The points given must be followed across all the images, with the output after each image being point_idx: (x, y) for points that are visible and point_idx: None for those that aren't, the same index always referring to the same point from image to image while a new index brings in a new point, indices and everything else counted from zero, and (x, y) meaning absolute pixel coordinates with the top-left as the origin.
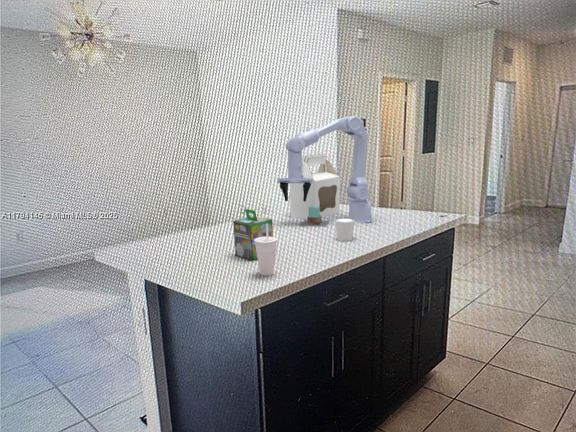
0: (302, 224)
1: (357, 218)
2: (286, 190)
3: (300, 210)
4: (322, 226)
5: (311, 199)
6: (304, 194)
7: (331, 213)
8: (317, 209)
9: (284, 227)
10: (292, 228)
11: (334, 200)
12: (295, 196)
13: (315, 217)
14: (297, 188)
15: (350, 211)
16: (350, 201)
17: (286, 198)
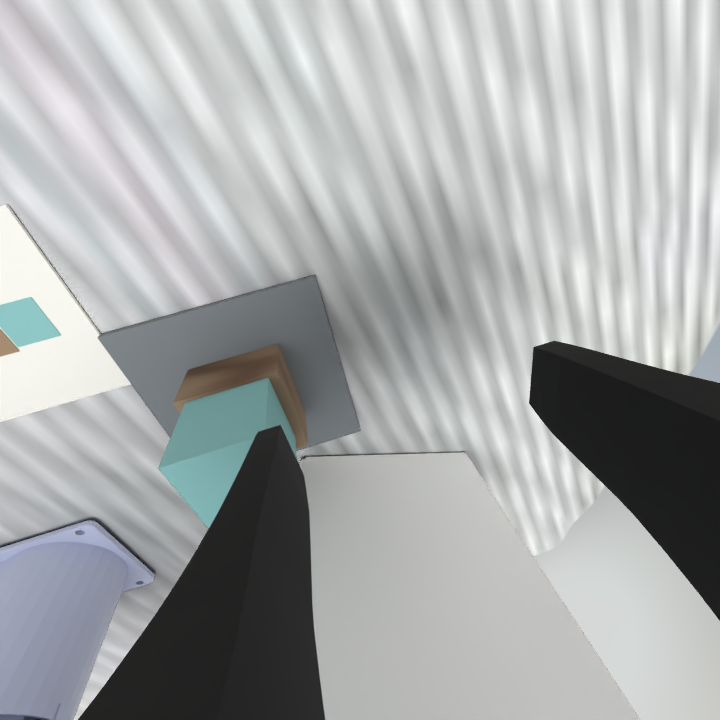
0: (312, 328)
1: (17, 565)
2: (709, 494)
3: (419, 496)
4: (126, 335)
5: (346, 599)
6: (237, 526)
7: None
8: (171, 454)
9: (412, 207)
10: (335, 200)
11: None
12: (507, 591)
13: (210, 396)
14: (534, 689)
15: (58, 606)
16: (8, 709)
17: (568, 357)
